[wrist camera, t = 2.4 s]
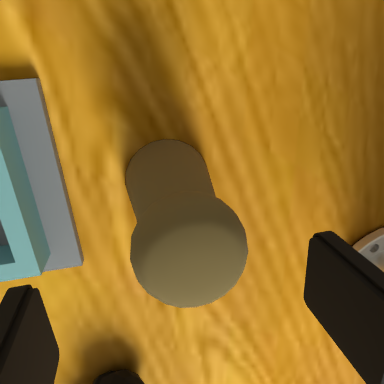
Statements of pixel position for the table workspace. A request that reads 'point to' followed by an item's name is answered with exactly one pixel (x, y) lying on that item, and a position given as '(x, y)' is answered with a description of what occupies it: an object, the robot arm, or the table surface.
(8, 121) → the socket
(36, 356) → the robot arm
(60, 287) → the table surface
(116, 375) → the microphone
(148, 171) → the cork
